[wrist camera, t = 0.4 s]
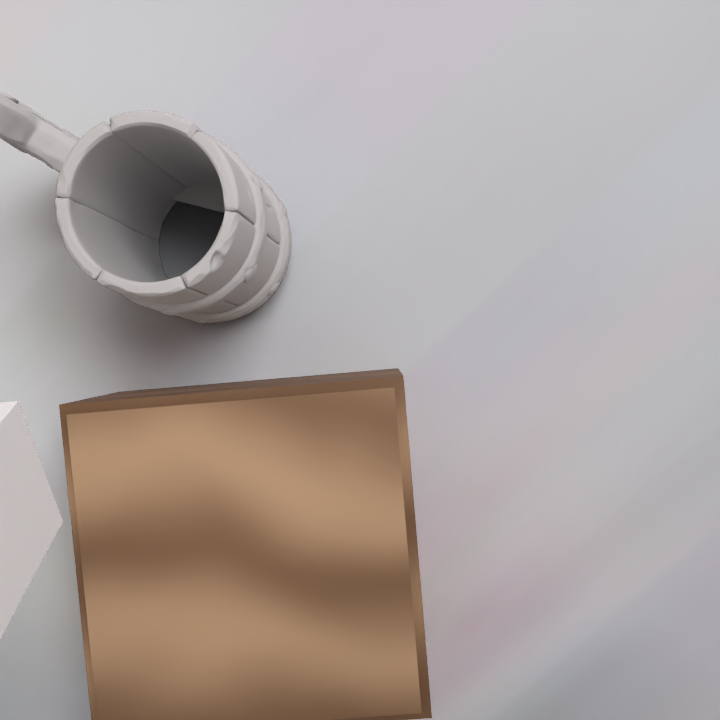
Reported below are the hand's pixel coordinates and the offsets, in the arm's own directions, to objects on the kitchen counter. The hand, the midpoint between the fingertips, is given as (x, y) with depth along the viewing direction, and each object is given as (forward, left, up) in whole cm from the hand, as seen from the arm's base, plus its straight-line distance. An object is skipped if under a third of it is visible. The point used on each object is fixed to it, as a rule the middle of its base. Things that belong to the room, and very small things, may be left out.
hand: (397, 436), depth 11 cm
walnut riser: (-7, +6, -20) cm, 22 cm away
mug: (+8, +9, -20) cm, 23 cm away
